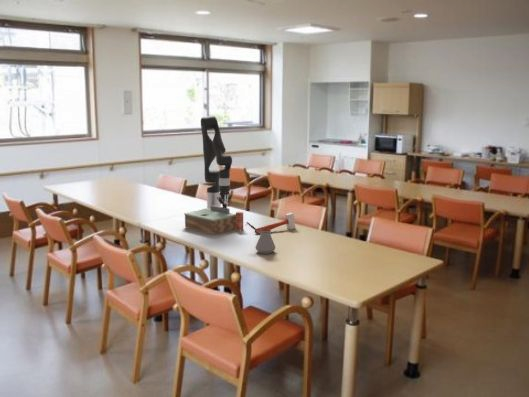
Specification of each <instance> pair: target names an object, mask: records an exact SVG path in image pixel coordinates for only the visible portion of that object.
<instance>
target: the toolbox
mask: <svg viewBox="0 0 529 397" xmlns="http://www.w3.org/2000/svg"><path fill="white" fill-rule="evenodd" d="M184 226H185V229H188V230H192V231H196V232H201V233H204V234H205V233H206V234H208V235H212V234H213V235H214V236H216V234H217V235H221V234H223V233H227V232H230V231H234V230H236V216H234V217H230V218H226V219H222V220H218V221H210V220H205V219H201V218H196V217H192V216H188V215H184ZM213 235H212V236H213Z"/></svg>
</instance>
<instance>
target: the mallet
mask: <svg viewBox="0 0 529 397" xmlns="http://www.w3.org/2000/svg"><path fill="white" fill-rule="evenodd" d="M295 224H296V222H295V217H294V213H293V212H288V213H286V214H285V219H284V220H282V221H279V222H276V223H271V224H268V225H267V224H266V225H264V226H261V227H258V228H256V229H257V230H258V231H259V232H260V233H261V231H260V230H261V229H270V230H271V231H272V230H274V229H277V228H279V227H281V226H283V225H286V229H288V230H293V229H296V225H295ZM254 233H255V235H260V234H259V233H258V232H257V231H256V230H254Z"/></svg>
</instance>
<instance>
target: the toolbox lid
mask: <svg viewBox="0 0 529 397" xmlns="http://www.w3.org/2000/svg"><path fill="white" fill-rule="evenodd" d="M183 215H184V216H185V215H188V216H192V217H196V218H201V219H205V220H210V221H218V220H222V219H226V218H230V217H234V216H236V213H232V212H230V208H228V207H227V208H223V206H221V207H218V206H213V205H212V206H211V209H208V208H207V207H206V208H201V209H198V210H193V211H189V212H185V213H184V214H183Z"/></svg>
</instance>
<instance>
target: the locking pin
mask: <svg viewBox="0 0 529 397" xmlns="http://www.w3.org/2000/svg"><path fill="white" fill-rule="evenodd" d="M235 214H236V229H235V230H236V231H239V232H241V231H243V230H244V212H243V211H236V212H235Z"/></svg>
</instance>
